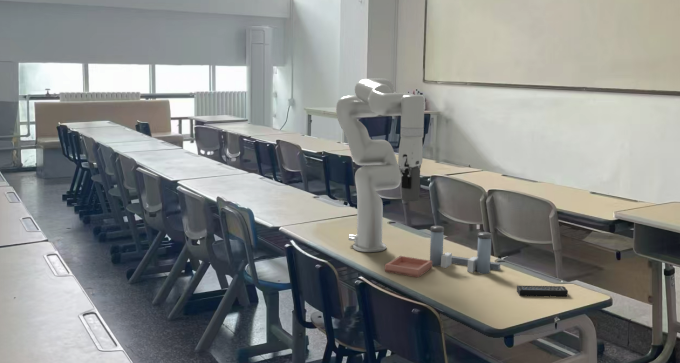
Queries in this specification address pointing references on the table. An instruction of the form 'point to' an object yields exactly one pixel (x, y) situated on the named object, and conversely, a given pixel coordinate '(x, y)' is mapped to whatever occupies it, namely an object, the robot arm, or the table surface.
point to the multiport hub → (542, 291)
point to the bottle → (412, 185)
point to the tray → (408, 266)
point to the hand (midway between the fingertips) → (410, 186)
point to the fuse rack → (474, 263)
